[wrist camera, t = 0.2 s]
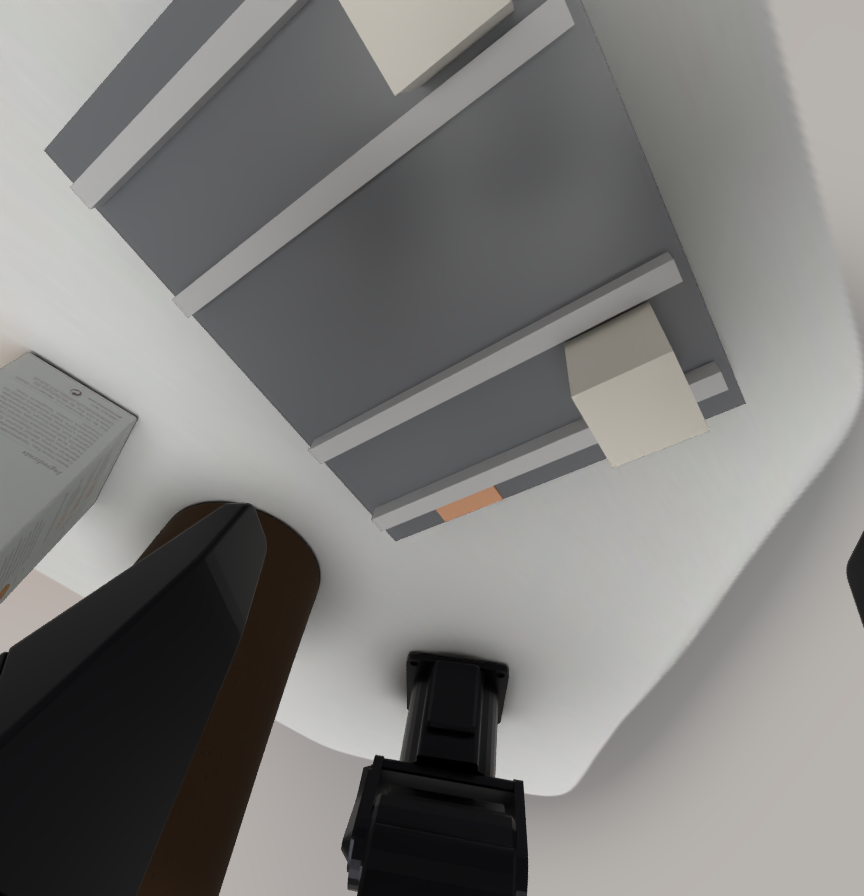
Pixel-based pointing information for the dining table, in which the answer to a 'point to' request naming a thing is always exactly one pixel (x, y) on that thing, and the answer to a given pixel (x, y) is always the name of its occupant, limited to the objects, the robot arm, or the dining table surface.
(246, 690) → the olive oil
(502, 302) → the switch panel
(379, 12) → the tab near
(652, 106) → the dining table surface
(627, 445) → the tab far
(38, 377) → the small box
